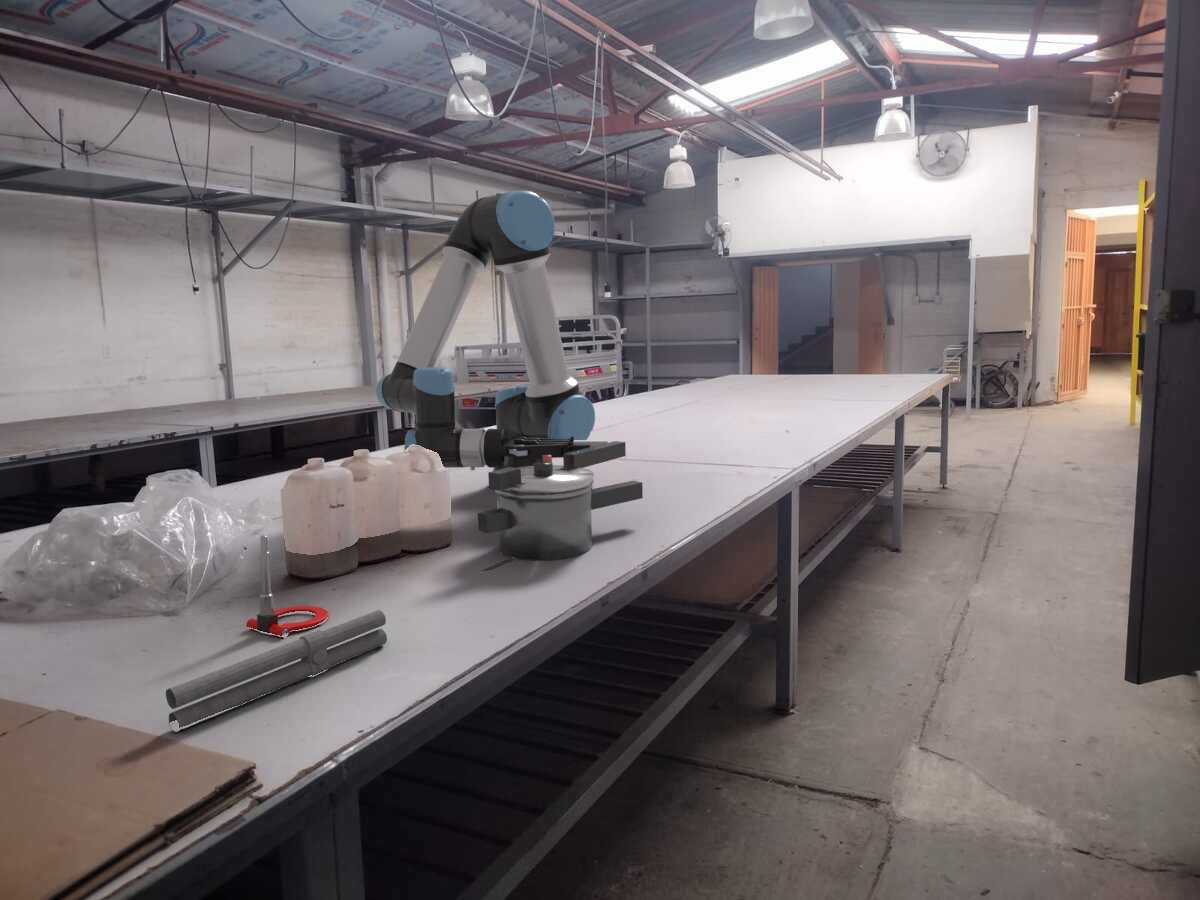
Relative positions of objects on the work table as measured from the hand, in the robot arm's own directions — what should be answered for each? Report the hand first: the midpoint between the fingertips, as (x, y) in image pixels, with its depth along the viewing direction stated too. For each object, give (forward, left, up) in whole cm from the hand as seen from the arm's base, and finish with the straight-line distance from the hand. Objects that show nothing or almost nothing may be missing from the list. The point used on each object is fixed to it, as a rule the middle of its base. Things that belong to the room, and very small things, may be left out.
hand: (607, 447), depth 154 cm
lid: (+14, -7, -3) cm, 16 cm away
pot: (+16, -6, -14) cm, 22 cm away
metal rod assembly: (+71, -31, -14) cm, 79 cm away
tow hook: (+54, -39, -14) cm, 68 cm away
